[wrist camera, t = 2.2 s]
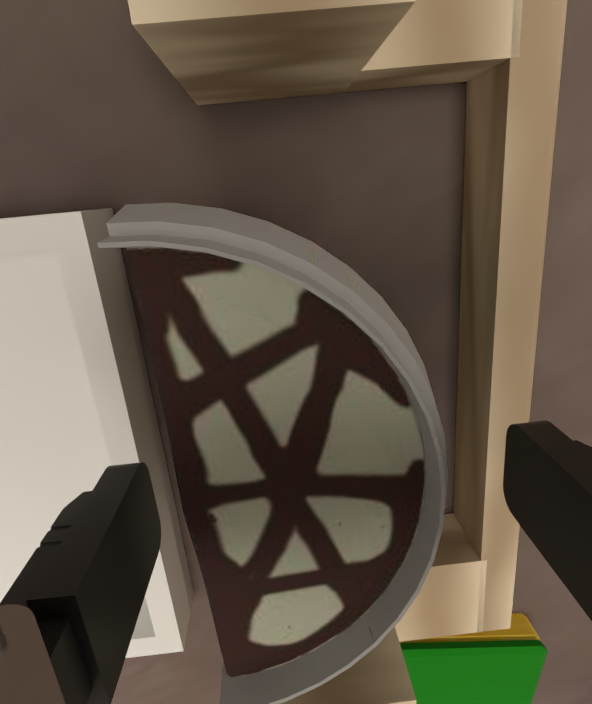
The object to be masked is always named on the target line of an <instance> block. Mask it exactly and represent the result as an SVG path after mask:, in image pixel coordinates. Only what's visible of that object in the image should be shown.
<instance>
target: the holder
mask: <svg viewBox="0 0 592 704" xmlns="http://www.w3.org/2000/svg"><path fill="white" fill-rule="evenodd" d="M128 5H129V10H130V16H131V22H132V25H133V27H134V28H135V29H136V30H137V32H138V33H139V34H140V35H141V36H142V38H143V39H144V40H145V41H146V43H147V44H148V45H149V46H150V48H151V49H152V50H153V51H154V53H155V54H156V55H157V56H158V58H159V59H160V60H161V61H162V62H163V64H164V65H165V66H166V67H167V69H168V70H169V71H170V72H171V74H172V75H173V76H174V77H175V79H176V80H177V81H178V82H179V84H180V85H181V86H182V87H183V88H184V90H185V91H186V92H187V93H188V95H189V96H190V97H191V98H192V100H193V101H194V102H195V103H196V105H207V104H219V103H230V102H241V101H253V100H264V99H275V98H287V97H298V96H310V95H321V94H332V93H344V92H355V91H366V90H378V89H389V88H400V87H412V86H423V85H435V84H446V83H457V82H467V92H466V124H465V156H464V187H463V219H462V251H461V283H460V314H459V346H458V378H457V410H456V441H455V473H454V505H453V513H449V514H444V522H443V529H442V533H441V537H440V541H439V544H438V548H437V552H436V556H435V559H434V562H433V564H432V566H431V569H430V571H429V573H428V575H427V577H426V579H425V582H424V584H423V586H422V588H421V590H420V592H419V594H418V595H417V597H416V598H415V600H414V601H413V603H412V604H411V606H410V607H409V609H408V610H407V611H406V613H405V614H404V616H403V617H402V619H401V620H400V621H399V623H398V624H397V625H396V626H395V627H394V628H393V629H392V630H391V631H390V632H389V633H388V634H387V635H386V637H385V638H384V639H383V640H382V641H381V642H380V643H379V644H378V645H377V646H376V647H375V648H374V649H372V650H371V651H370V652H369V653H367V654H366V655H365V656H364V657H363V658H361V659H360V660H359V661H358V662H356V663H355V664H354V665H353V666H351V667H350V668H349V669H347V670H345V671H344V672H342V673H341V674H339V675H337V676H336V677H334V678H332V679H331V680H329V681H328V682H326V683H324V684H323V685H321V686H319V687H317V688H315V689H313V690H310V691H308V692H306V693H304V694H302V695H299V696H297V697H295V698H293V699H291V700H289V701H286V702H283V703H280V704H416V697H415V693H414V690H413V687H412V683H411V680H410V676H409V673H408V670H407V666H406V663H405V660H404V656H403V653H402V649H401V646H400V643H399V642H402V641H411V640H419V639H427V638H435V637H443V636H452V635H460V634H468V633H476V632H484V631H493V630H501V629H509V628H510V626H511V615H512V604H513V593H514V582H515V571H516V560H517V549H518V538H519V527H520V524H519V523H518V522H517V520H516V519H515V518H514V516H513V515H512V514H511V512H510V510H509V508H508V506H507V503H506V500H505V497H504V492H503V475H504V460H505V445H506V433H507V429H508V427H509V426H510V425H511V424H518V423H528V422H529V417H530V406H531V395H532V384H533V373H534V362H535V351H536V340H537V329H538V318H539V307H540V296H541V285H542V274H543V263H544V252H545V241H546V230H547V219H548V208H549V197H550V186H551V175H552V164H553V153H554V142H555V131H556V120H557V109H558V98H559V87H560V76H561V65H562V54H563V43H564V32H565V21H566V10H567V0H128Z"/></svg>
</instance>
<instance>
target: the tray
mask: <svg viewBox="0 0 592 704" xmlns="http://www.w3.org/2000/svg"><path fill="white" fill-rule="evenodd" d="M113 216H114V213H113V208H106V209H95V210H84V211H74V212H63V213H52V214H41V215H31V216H20V217H9V218H0V603H1V601H2V600H3V598H4V597H5V595H6V594H7V592H8V591H9V589H10V588H11V586H12V585H13V583H14V581H15V580H16V578H17V577H18V575H19V574H20V572H21V571H22V569H23V568H24V566H25V565H26V563H27V562H28V560H29V559H30V557H31V556H32V554H33V553H34V551H35V550H36V548H37V547H40V542H41V541H42V539H43V538H44V536H45V535H46V533H47V532H48V531H50V530H51V526H52V524H53V523H54V521H55V520H56V518H57V517H58V515H59V514H60V512H61V511H62V509H63V508H64V507H66V506H67V505H68V504H69V503H70V502H72V501H73V500H74V499H75V498H76V497H78V496H79V495H80V494H81V493H83V492H86V491H92V490H93V489H94V487H95V485H96V484H97V482H98V481H99V479H100V477H101V476H102V474H103V472H104V471H105V469H106V468H107V467H108V466H112V465H121V464H131V463H140V462H144V463H145V464H146V465H147V467H148V470H149V473H150V478H151V482H152V486H153V491H154V495H155V500H156V504H157V508H158V513H159V517H160V523H161V544H160V550H159V553H158V556H157V559H156V563H155V566H154V569H153V572H152V575H151V578H150V582H149V585H148V588H147V591H146V594H145V597H144V600H143V604H142V607H141V610H140V613H139V616H138V619H137V622H136V626H135V629H134V632H133V635H132V638H131V641H130V645H129V648H128V651H127V654H126V657H125V658H130V657H139V656H147V655H155V654H164V653H172V652H180V651H184V646H185V640H186V635H187V629H188V623H189V618H190V612H191V607H192V601H193V596H194V591H193V586H192V582H191V577H190V572H189V567H188V563H187V558H186V553H185V548H184V544H183V539H182V534H181V530H180V525H179V520H178V515H177V511H176V506H175V501H174V496H173V492H172V487H171V482H170V478H169V473H168V468H167V463H166V459H165V454H164V449H163V444H162V440H161V435H160V430H159V425H158V421H157V416H156V411H155V407H154V402H153V397H152V392H151V388H150V383H149V378H148V373H147V369H146V364H145V359H144V355H143V350H142V345H141V340H140V336H139V331H138V326H137V321H136V317H135V312H134V307H133V302H132V298H131V293H130V288H129V284H128V279H127V274H126V269H125V265H124V260H123V255H122V250H121V248H98V244H97V243H98V242H100V241H102V240H104V239H106V238H108V237H110V236H109V232H108V228H107V225H106V223H107V222H108V221H109V220H110V219H111V218H112V217H113Z"/></svg>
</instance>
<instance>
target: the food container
mask: <svg viewBox="0 0 592 704" xmlns="http://www.w3.org/2000/svg"><path fill="white" fill-rule="evenodd" d="M106 225H107V228H108V232H109V236H110V237H108V238H106V239H104V240H102V241H100V242H98V243H97V244H98V248H126V249H125V251H126V258H127V263H128V267H129V271H130V276H131V285H132V291H133V294H134V296H135V299H136V301H137V304H138V306H139V309H140V313H141V316H142V320H143V324H144V327H145V331H146V335H147V339H148V344H149V348H150V353H151V357H152V362H153V366H154V370H155V375H156V379H157V384H158V388H159V393H160V398H161V402H162V407H163V412H164V416H165V421H166V426H167V430H168V435H169V440H170V445H171V451H172V456H173V461H174V466H175V472H176V477H177V482H178V487H179V492H180V497H181V503H182V508H183V512H184V516H185V519H186V522H187V526H188V529H189V532H190V536H191V539H192V542H193V545H194V548H195V551H196V555H197V558H198V562H199V565H200V569H201V572H202V576H203V580H204V583H205V587H206V590H207V595H208V599H209V603H210V607H211V611H212V615H213V619H214V624H215V628H216V632H217V636H218V640H219V644H220V648H221V652H222V656H223V668H222V683H221V698H220V704H280V703H283V702H286V701H289V700H291V699H293V698H295V697H297V696H299V695H302V694H304V693H306V692H308V691H310V690H313V689H315V688H317V687H319V686H321V685H323V684H324V683H326V682H328V681H329V680H331V679H332V678H334V677H336V676H337V675H339V674H341V673H342V672H344V671H345V670H347V669H349V668H350V667H351V666H353V665H354V664H355V663H356V662H358V661H359V660H360V659H361V658H363V657H364V656H365V655H366V654H367V653H369V652H370V651H371V650H372V649H374V648H375V647H376V646H377V645H378V644H379V643H380V642H381V641H382V640H383V639H384V638H385V637H386V635H387V634H388V633H389V632H390V631H391V630H392V629H393V628H394V627H395V626H396V625H397V624H398V623H399V621H400V620H401V619H402V617H403V616H404V614H405V613H406V611H407V610H408V609H409V607H410V606H411V604H412V603H413V601H414V600H415V598H416V597H417V595H418V594H419V592H420V590H421V588H422V586H423V584H424V582H425V579H426V577H427V575H428V573H429V571H430V569H431V566H432V564H433V562H434V559H435V556H436V552H437V548H438V544H439V541H440V537H441V533H442V529H443V522H444V510H445V503H446V491H447V479H448V465H447V455H446V444H445V434H444V431H443V427H442V424H441V420H440V417H439V413H438V410H437V406H436V402H435V399H434V396H433V392H432V389H431V386H430V382H429V379H428V376H427V372H426V369H425V366H424V363H423V361H422V359H421V357H420V355H419V354H418V352H417V350H416V348H415V346H414V344H413V342H412V340H411V338H410V336H409V334H408V332H407V330H406V329H405V327H404V326H403V325H402V323H401V322H400V321H399V319H398V318H397V317H396V315H395V314H394V313H393V311H392V310H391V309H390V307H389V306H388V305H387V303H386V302H385V301H384V299H383V298H382V297H381V296H380V295H379V294H378V293H377V292H376V291H375V290H374V289H373V288H372V287H371V286H370V285H369V284H367V283H366V282H365V281H364V280H363V279H362V278H361V277H360V276H359V275H358V274H357V273H356V272H355V271H354V270H353V269H352V268H351V267H349V266H348V265H346V264H345V263H343V262H342V261H340V260H339V259H337V258H336V257H334V256H333V255H331V254H330V253H328V252H327V251H325V250H324V249H322V248H321V247H320V246H318V245H317V244H315V243H314V242H312V241H310V240H308V239H306V238H303V237H301V236H299V235H297V234H295V233H293V232H290V231H288V230H286V229H284V228H282V227H279V226H277V225H275V224H273V223H271V222H269V221H265V220H261V219H258V218H254V217H251V216H247V215H244V214H240V213H236V212H233V211H229V210H226V209H222V208H215V207H206V206H197V205H189V204H180V203H148V204H126V205H125V206H124V207H123V208H122V209H121V210H120V211H118V212H117V213H116V214H115V215H114V216H113V217H112V218H111V219H110V220H109V221H108V222H107V223H106Z"/></svg>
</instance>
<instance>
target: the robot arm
mask: <svg viewBox="0 0 592 704" xmlns="http://www.w3.org/2000/svg"><path fill="white" fill-rule="evenodd" d="M503 492H504V497H505V500H506V503H507V506H508V508H509V510H510V512H511V514H512V515H513V516H514V518H515V519H516V520H517V522H518V523H519V524H520V526H521V527H522V528H523V530H524V531H525V533H526V534H527V535H528V537H529V538H530V539H531V541H532V542H533V543H534V545H535V546H536V547H537V549H538V550H539V551H540V553H541V554H542V555H543V557H544V558H545V559H546V561H547V562H548V563H549V565H550V566H551V567H552V569H553V570H554V571H555V573H556V574H557V575H558V577H559V578H560V579H561V581H562V582H563V583H564V585H565V586H566V587H567V589H568V590H569V591H570V593H571V594H572V595H573V597H574V598H575V599H576V601H577V602H578V603H579V605H580V606H581V607H582V609H583V610H584V611H585V613H586V614H587V615H588V617H589V618H590V619H591V621H592V447H590V446H588V445H585V444H583V443H581V442H579V441H577V440H576V441H572V440H571V439H570V438H569V437H568V436H566V435H565V434H564V433H563V432H561V431H560V430H559V429H558V428H557V427H555V426H554V425H553V424H552V423H550V422H548V421H537V422H528V423H518V424H511V425H510V426H509V427H508V429H507V433H506V445H505V460H504V475H503ZM160 544H161V523H160V517H159V513H158V508H157V504H156V500H155V495H154V491H153V486H152V482H151V478H150V473H149V470H148V467H147V465H146V464H145V463H144V462H140V463H131V464H121V465H112V466H108V467H107V468H106V469H105V471H104V472H103V474H102V476H101V477H100V479H99V481H98V482H97V484H96V485H95V487H94V489H93V490H92V491H86V492H83V493H81V494H80V495H79V496H78V497H76V498H75V499H74V500H73V501H72V502H70V503H69V504H68V505H67V506H66V507H64V508H63V509H62V511H61V512H60V514H59V515H58V517H57V518H56V520H55V521H54V523H53V524H52V526H51V530H50V531H48V532H47V533H46V535H45V536H44V538H43V539H42V541H41V542H40V547H37V548H36V550H35V551H34V553H33V554H32V556H31V557H30V559H29V560H28V562H27V563H26V565H25V566H24V568H23V569H22V571H21V572H20V574H19V575H18V577H17V578H16V580H15V581H14V583H13V585H12V586H11V588H10V589H9V591H8V592H7V594H6V595H5V597H4V598H3V600H2V601H1V603H0V704H111V701H112V698H113V695H114V692H115V689H116V685H117V682H118V679H119V676H120V673H121V670H122V667H123V663H124V660H125V657H126V654H127V651H128V648H129V645H130V641H131V638H132V635H133V632H134V629H135V626H136V622H137V619H138V616H139V613H140V610H141V607H142V604H143V600H144V597H145V594H146V591H147V588H148V585H149V582H150V578H151V575H152V572H153V569H154V566H155V563H156V559H157V556H158V553H159V550H160Z"/></svg>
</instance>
